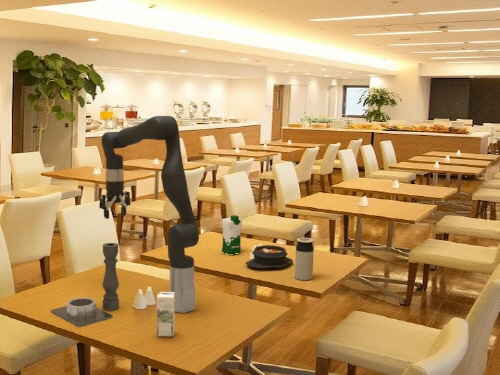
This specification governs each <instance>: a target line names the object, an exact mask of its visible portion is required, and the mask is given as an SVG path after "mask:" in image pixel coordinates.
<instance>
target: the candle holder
mask: <svg viewBox="0 0 500 375" xmlns="http://www.w3.org/2000/svg"><path fill="white" fill-rule="evenodd" d="M118 253H119V243H117V242H116V243H115V242H106V243H104V244H102V254H103V256H104V260H103V263H104V265H105V269H104V270H105V272H104V276H103V281H102V289H103V290H104V292H105V293H104V294H103V296H102V297H103V298H102V311H104V312H106V311H107V312H113V311H117V310H119V309H120V299H119V294H118V293H117V292H118V291H117V290H118V289H119V286H120V282H119V277H118V274H117V263H118V259H117V256H118Z"/></svg>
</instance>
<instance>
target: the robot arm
mask: <svg viewBox="0 0 500 375" xmlns="http://www.w3.org/2000/svg"><path fill="white" fill-rule="evenodd" d="M179 129H180V128H179V124H178V121H177V120H176V118H175V117H174V116H172V115H155V116H152V117H150V118H148V119H147V120H145V121H143V122H141V123H139V124H137V125H134V126H133V125H132V126H129V127H126V128H123V129H121V130H119V131H106V132H104V133H103V135H102V137H101V146H102V150H103V154H104V156H105V191H106V193H105V194H102V193H101V194H100V195H99V209H101V210H103V217H104V219H105V220H106V219H107V220H108V219H110V208H111V207H112V205H114V204H119V205H120V206H121V207H120V215H121V217H125V216H126V215H127V208H128V206H130V205H131V192H130V191H127V190H126V191H124V190H125V174H124V173H125V172H124V156H123V155H121V154H117V153H116V152H115V150H116V149H125V148H127V147H128V146H133V145H136V144H138V143H141V142H142V141H143V140H154V141H164V143H165V147H166V148H165V149H166V153H165V154H166V156H165V159H164V162H163V165H162V169H161V172H160V174H161V175H160V179H161V184H162V189H163V192H164V194H165V196H166V198H167V199H168V201H169V202H170V203H171V204H172V206H173V207H174V208H175V209H176V211H177V213H178V216H179V219H180V220H179V221H180V224H174V225H172V226H170V227H169V229H168V231H167V236H166V238H167V242H166V243H167V252H168V253H167V257H168V261H169V292H175V312H174V313H180V314H186V313H188V312H192V311H194V310H196V286H195V259H194V257H192V256H191V255H187V254H186V252H185V249H187V248H191V247H195V246H196V245H198V243H199V240H200V233H199V228H198V224H197V220H196V217H195V215H194V214H195V213H194V211H193V207H192V202H191V199H190V194H189V188H188V183H187V182H188V181H187V176H186V172H185V168H184V163H183V156H182V151H181V150H182V149H181V140H180V130H179ZM123 197H124V198H123Z"/></svg>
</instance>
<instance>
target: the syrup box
mask: <svg viewBox="0 0 500 375" xmlns="http://www.w3.org/2000/svg"><path fill="white" fill-rule="evenodd" d="M175 313H176V312H175V292H170V291H158V293H157V296H156V337H159V338H160V337H161V338H164V337H165V338H169V337H170V338H173V337H174V333H175Z"/></svg>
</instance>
